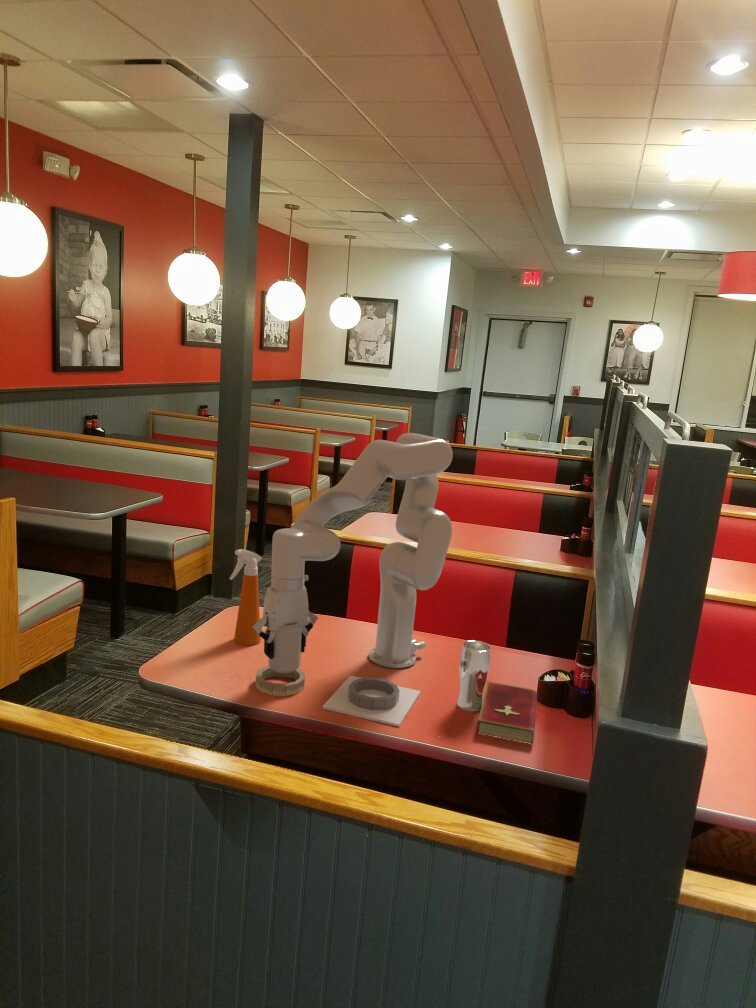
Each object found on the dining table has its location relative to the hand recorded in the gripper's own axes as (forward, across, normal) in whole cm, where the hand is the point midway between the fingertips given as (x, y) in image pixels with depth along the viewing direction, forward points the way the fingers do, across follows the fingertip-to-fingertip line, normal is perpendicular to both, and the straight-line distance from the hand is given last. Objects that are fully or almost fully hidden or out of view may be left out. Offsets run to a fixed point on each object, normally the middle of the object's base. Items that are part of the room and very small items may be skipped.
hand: (284, 653), depth 171 cm
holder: (+8, -15, +16) cm, 24 cm away
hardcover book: (+10, -39, +36) cm, 54 cm away
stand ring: (+8, +1, 0) cm, 8 cm away
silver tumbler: (+9, -35, +28) cm, 45 cm away
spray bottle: (+8, -1, -27) cm, 28 cm away
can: (+4, 0, 0) cm, 4 cm away
